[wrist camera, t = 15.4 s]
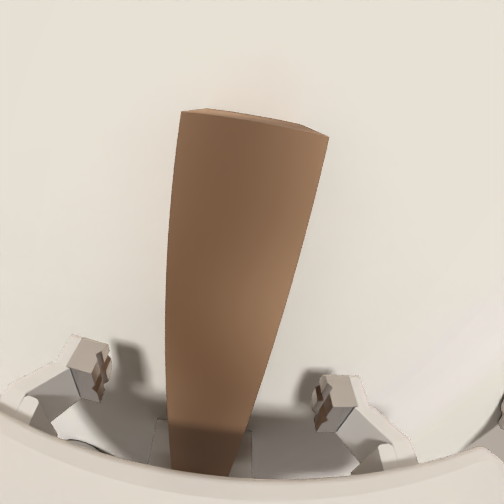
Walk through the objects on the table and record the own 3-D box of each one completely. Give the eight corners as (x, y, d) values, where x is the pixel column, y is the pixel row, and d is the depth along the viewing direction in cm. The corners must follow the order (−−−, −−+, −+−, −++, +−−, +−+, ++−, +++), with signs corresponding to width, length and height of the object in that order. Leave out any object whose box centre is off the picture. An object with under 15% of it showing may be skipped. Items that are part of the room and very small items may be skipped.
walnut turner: (342, 134, 10) (413, 165, 5) (248, 438, 18) (248, 504, 13) (162, 103, 9) (91, 109, 5) (158, 426, 17) (145, 491, 13)
